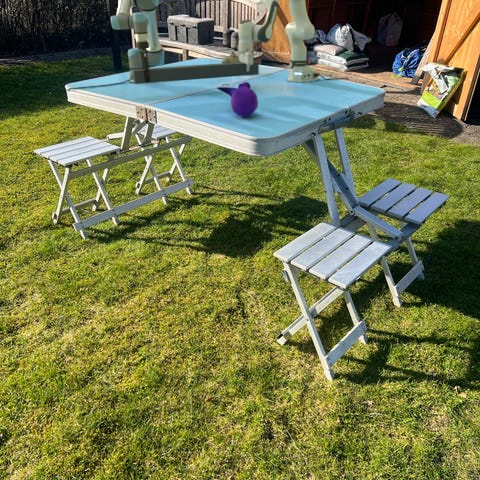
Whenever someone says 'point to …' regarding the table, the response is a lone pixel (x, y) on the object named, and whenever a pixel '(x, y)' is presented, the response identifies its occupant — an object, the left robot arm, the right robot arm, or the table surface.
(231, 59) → the teapot
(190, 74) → the bar
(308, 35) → the right robot arm
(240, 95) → the toy
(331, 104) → the table surface
